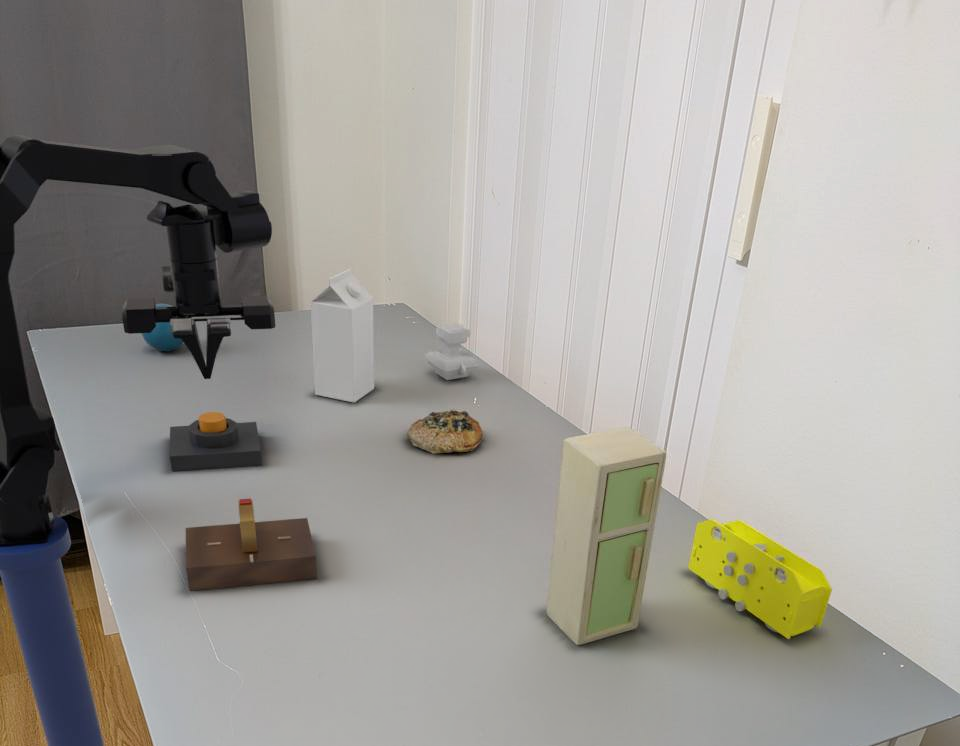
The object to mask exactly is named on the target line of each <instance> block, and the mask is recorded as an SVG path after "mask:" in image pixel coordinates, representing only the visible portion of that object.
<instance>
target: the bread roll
mask: <svg viewBox="0 0 960 746" xmlns="http://www.w3.org/2000/svg"><path fill="white" fill-rule="evenodd" d="M407 436H408V440H409V441H410V443H411V444H412V446H413V447H416V448H420V449H421V450H424V451H427V452H429V453H431V454H444V453H447V454H449V453H452V452H456V453H457V452H458V453H465V452H466V453H467V452H473V451H474V450H476V448H477V447H478V446H479V445H480V444H481V443H482V441H483V439H484V434H483V430H482V427H481V425H480V422H479V420H476V419H475V418H473V417H472V416H470V414H469V412H468V411H466V410H462V411H458V410H456V409H451V410H450V411H446V410H445V411H438V412H434V411H432V412H430V413H429V414H428V415H427V416H425V417H424V418H421V419H420V418H419V419H417V420H416V421H414V422H413V423H412V424H411V425H410V427H409V428H408V431H407Z"/></svg>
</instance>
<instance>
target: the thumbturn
mask: <svg viewBox="0 0 960 746" xmlns="http://www.w3.org/2000/svg"><path fill="white" fill-rule="evenodd" d="M237 502H238V503H237V504H238V516H239V523H240V528H241V537H242V547H243V552H244V553H245V552H257V551H258V549H257V538H256V528H255V522H256V520H255V519H256V518H255V509H254V500H253V499H252V498H251V497H250V498H239V499H238V501H237Z"/></svg>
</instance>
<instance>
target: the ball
mask: <svg viewBox="0 0 960 746" xmlns="http://www.w3.org/2000/svg"><path fill="white" fill-rule="evenodd" d="M156 307H175V306H173V305H171V304H168V303H156ZM140 334H141V336H142V338H143V340H144V341H145V342H146V344H148V346H149V347H151V348H153V349H155V350H157V351H160V352H172V351H175V350H177V349H179V348H180V347H182V346H183V344H184V342H183V341H182V339H180V338H173V335H172V326H171V323H170V322H162V323H156V327H155V328H154V329H153V331H152V332H151V333H140Z"/></svg>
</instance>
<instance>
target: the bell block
mask: <svg viewBox="0 0 960 746" xmlns="http://www.w3.org/2000/svg"><path fill="white" fill-rule="evenodd" d="M226 425H227V429H226V430H224V431H220V432H213V433H208V432H202V431H201V430H200V425H199V419H197V420H194V421H193V422H191V423H190V424H188V425H177V426H170V427H169V461H170V462H169V463H170V469H171V472H180V471H193V470H194V471H195V470H207V469H224V468H237V467H239V468H240V467H253V466H263V459H262V458H263V457H262V448H261V443H260V437H259V431H258V425H257V421H249V422H248V421H247V422H246V421H245V422H237V421H235V420H233V419H232V418H229V417H226Z"/></svg>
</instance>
